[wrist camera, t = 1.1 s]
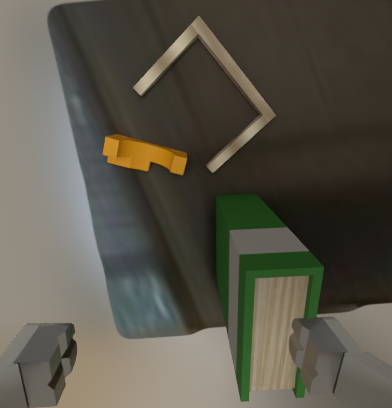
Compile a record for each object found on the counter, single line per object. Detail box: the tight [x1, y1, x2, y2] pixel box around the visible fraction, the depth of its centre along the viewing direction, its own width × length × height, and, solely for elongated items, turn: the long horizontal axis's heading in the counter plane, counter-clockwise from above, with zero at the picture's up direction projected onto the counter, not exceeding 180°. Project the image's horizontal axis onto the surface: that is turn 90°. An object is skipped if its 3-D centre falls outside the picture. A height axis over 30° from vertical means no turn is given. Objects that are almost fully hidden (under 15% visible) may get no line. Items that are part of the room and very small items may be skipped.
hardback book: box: [216, 194, 324, 402], centre depth 38 cm, size 18×7×24 cm, turn 2°
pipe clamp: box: [103, 134, 187, 175], centre depth 40 cm, size 12×4×6 cm, turn 75°
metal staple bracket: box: [133, 16, 276, 173], centre depth 40 cm, size 14×18×2 cm
